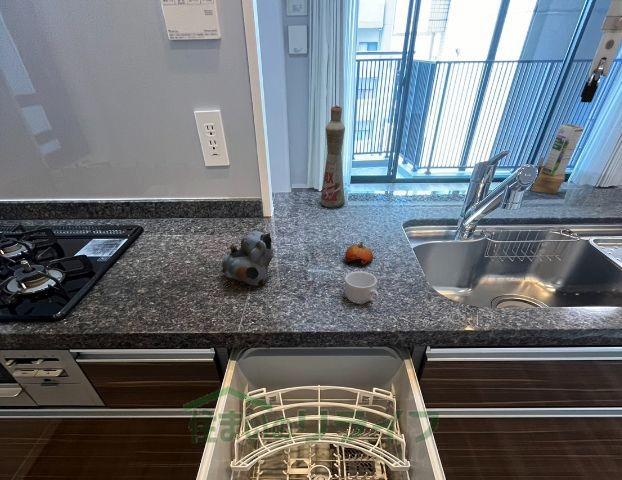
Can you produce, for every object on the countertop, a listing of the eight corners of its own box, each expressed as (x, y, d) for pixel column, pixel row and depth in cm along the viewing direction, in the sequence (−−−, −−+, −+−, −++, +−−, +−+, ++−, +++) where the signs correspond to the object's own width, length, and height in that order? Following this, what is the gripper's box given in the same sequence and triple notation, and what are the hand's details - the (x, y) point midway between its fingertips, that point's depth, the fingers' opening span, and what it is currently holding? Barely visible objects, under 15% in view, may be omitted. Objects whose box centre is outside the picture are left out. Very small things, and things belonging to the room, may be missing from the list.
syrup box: (540, 172, 140) (559, 124, 129) (552, 170, 141) (572, 122, 130) (552, 176, 136) (573, 128, 125) (564, 174, 138) (585, 126, 127)
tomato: (381, 258, 102) (367, 241, 97) (364, 279, 104) (349, 263, 99) (366, 251, 108) (352, 234, 103) (351, 270, 109) (336, 255, 105)
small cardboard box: (558, 184, 145) (569, 160, 139) (557, 194, 138) (569, 169, 131) (531, 181, 148) (541, 157, 141) (529, 190, 141) (539, 166, 134)
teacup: (337, 298, 92) (338, 278, 88) (359, 287, 95) (361, 268, 91) (365, 315, 87) (367, 295, 83) (387, 304, 90) (390, 283, 86)
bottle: (349, 206, 132) (355, 106, 111) (327, 210, 129) (329, 109, 108) (337, 198, 137) (342, 101, 116) (316, 202, 134) (316, 104, 113)
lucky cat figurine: (220, 269, 102) (232, 216, 96) (261, 283, 106) (276, 232, 100) (219, 280, 89) (233, 220, 83) (266, 295, 93) (283, 239, 87)
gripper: (633, 26, 103) (599, 104, 116) (628, 23, 113) (597, 96, 126) (603, 26, 105) (572, 103, 118) (601, 24, 115) (573, 95, 128)
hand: (585, 99), depth 122 cm, fingers open, 9 cm apart
